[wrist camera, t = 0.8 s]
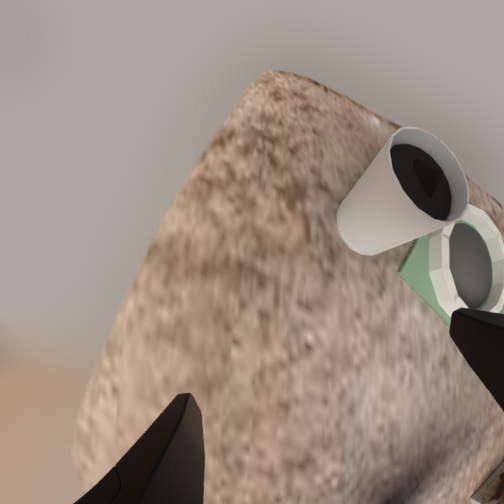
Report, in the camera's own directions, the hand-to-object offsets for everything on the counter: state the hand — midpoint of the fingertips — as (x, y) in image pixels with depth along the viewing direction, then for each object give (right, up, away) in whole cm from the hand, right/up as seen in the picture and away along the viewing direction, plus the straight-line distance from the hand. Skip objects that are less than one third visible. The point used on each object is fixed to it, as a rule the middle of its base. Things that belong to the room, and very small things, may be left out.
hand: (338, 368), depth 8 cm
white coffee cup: (+7, +6, +16) cm, 18 cm away
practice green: (+22, 0, +15) cm, 27 cm away
